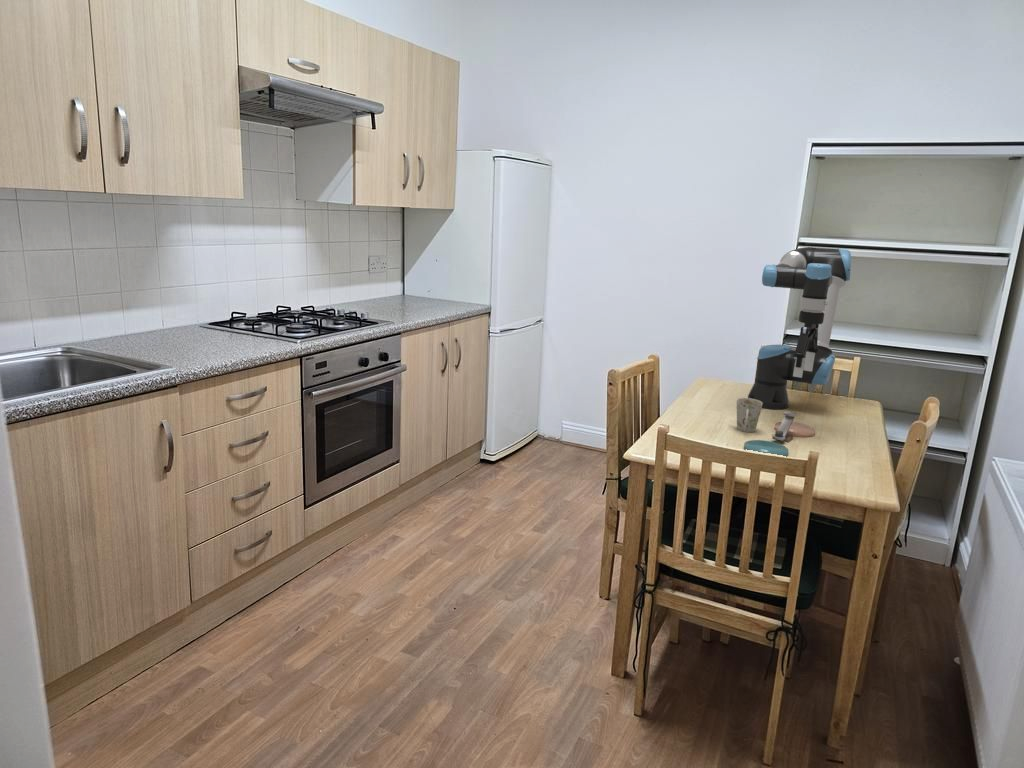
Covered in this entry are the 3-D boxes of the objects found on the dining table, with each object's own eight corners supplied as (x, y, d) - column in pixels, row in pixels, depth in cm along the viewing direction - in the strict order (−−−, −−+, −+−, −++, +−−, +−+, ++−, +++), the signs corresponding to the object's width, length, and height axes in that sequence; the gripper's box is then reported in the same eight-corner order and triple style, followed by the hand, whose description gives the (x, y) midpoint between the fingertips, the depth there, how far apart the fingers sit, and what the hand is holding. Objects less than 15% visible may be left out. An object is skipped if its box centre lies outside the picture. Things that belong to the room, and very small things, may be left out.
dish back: (768, 430, 236) (769, 427, 236) (781, 422, 246) (781, 419, 245) (808, 439, 228) (808, 436, 228) (819, 431, 238) (820, 427, 238)
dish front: (737, 450, 215) (737, 446, 214) (752, 440, 224) (753, 437, 224) (779, 461, 207) (780, 457, 206) (793, 450, 217) (794, 447, 216)
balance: (768, 441, 224) (771, 418, 222) (781, 432, 234) (785, 410, 232) (783, 445, 221) (787, 422, 219) (796, 436, 231) (800, 413, 229)
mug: (758, 427, 239) (762, 399, 236) (758, 438, 227) (762, 409, 225) (733, 424, 241) (737, 396, 239) (732, 434, 230) (736, 405, 227)
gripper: (815, 315, 216) (804, 381, 221) (832, 309, 236) (823, 370, 241) (790, 312, 220) (780, 377, 225) (809, 306, 240) (800, 366, 245)
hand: (802, 373), depth 233 cm, fingers open, 13 cm apart
